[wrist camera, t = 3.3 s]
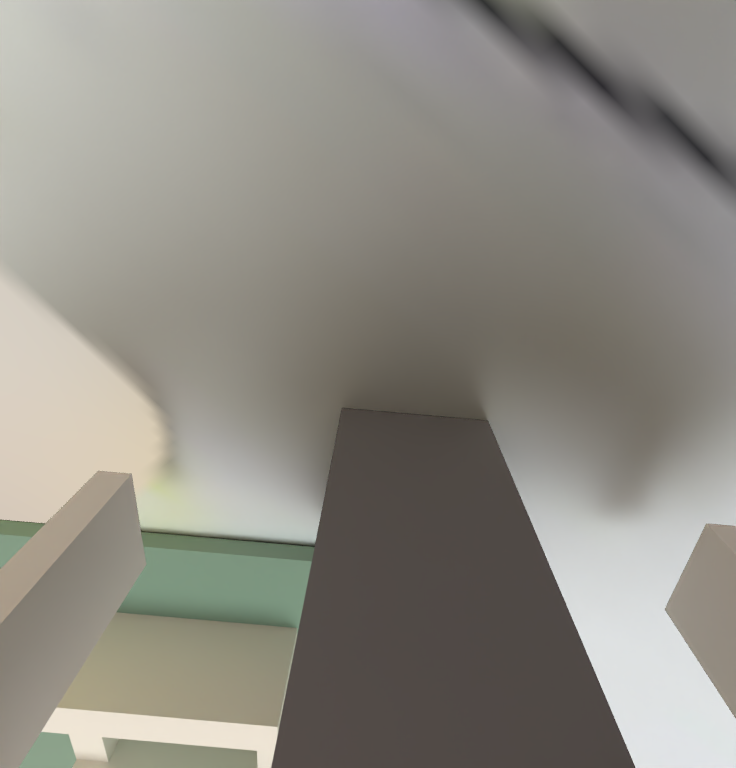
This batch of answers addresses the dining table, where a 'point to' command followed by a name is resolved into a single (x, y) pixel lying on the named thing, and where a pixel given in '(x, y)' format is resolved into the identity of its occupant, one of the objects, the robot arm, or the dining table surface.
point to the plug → (435, 616)
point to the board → (182, 659)
